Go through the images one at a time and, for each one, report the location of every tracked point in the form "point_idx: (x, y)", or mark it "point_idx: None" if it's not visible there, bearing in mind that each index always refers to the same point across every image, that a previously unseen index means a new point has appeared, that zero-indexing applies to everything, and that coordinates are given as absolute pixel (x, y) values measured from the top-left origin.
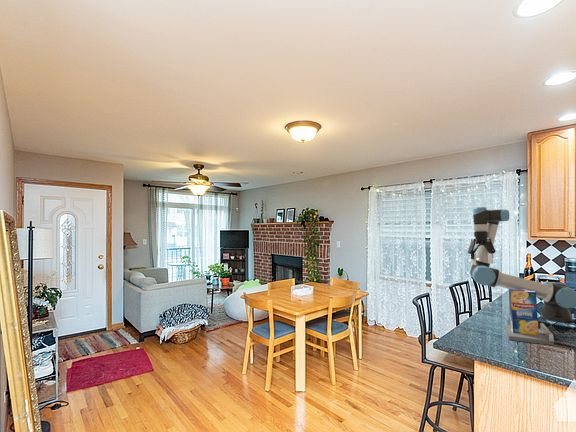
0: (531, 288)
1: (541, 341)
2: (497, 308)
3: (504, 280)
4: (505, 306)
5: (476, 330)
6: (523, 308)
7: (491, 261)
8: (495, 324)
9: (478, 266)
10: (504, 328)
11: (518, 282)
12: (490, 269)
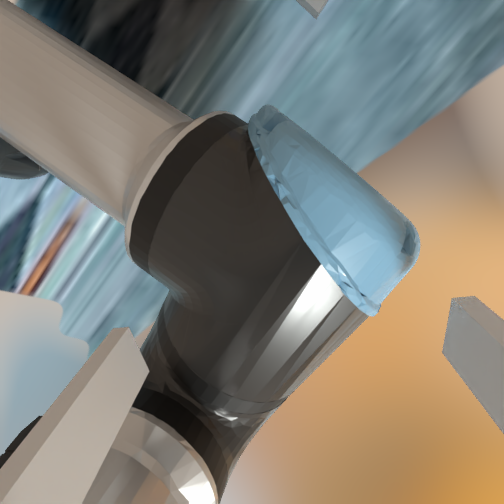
0: (10, 3)
1: None
2: (136, 296)
3: (170, 106)
4: (95, 311)
5: (464, 6)
6: None
7: (114, 359)
8: (301, 93)
9: (358, 305)
10: (325, 4)
11: (65, 47)
12: (305, 139)
